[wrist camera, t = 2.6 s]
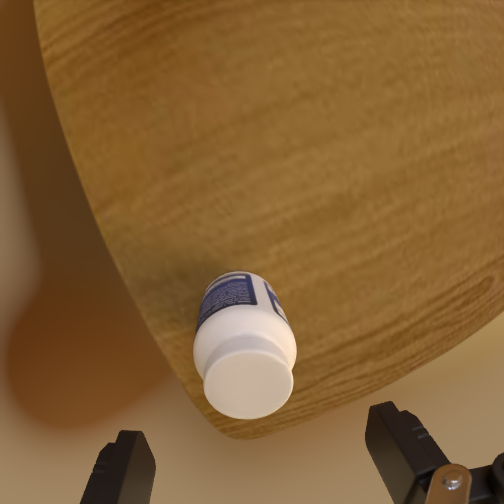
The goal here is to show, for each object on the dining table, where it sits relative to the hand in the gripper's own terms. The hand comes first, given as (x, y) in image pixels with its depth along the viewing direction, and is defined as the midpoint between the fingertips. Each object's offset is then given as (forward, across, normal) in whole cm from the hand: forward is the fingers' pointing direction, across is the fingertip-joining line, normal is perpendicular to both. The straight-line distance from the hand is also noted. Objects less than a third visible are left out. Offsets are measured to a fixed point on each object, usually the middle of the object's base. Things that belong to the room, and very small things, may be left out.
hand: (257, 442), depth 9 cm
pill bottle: (+14, 0, 0) cm, 14 cm away
